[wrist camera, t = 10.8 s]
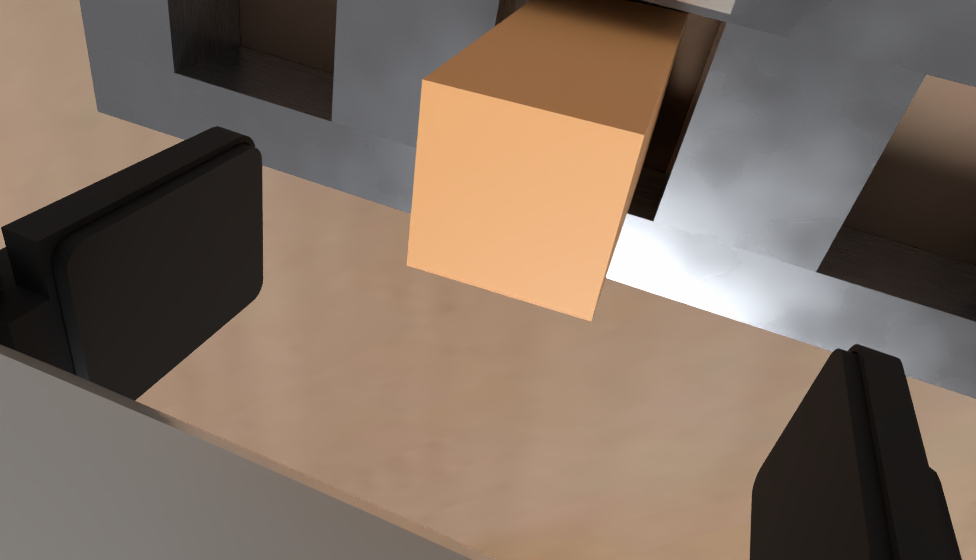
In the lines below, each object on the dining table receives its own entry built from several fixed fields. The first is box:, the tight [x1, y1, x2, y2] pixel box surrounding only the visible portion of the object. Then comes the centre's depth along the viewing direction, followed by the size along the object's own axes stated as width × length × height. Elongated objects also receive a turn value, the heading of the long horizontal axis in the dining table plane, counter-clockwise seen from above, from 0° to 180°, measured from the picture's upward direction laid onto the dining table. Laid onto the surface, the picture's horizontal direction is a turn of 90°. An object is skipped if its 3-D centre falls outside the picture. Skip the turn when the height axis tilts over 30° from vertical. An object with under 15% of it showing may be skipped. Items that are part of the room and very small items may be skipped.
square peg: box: [407, 0, 688, 321], centre depth 17 cm, size 4×4×10 cm
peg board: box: [80, 0, 976, 399], centre depth 19 cm, size 32×10×4 cm, turn 79°
